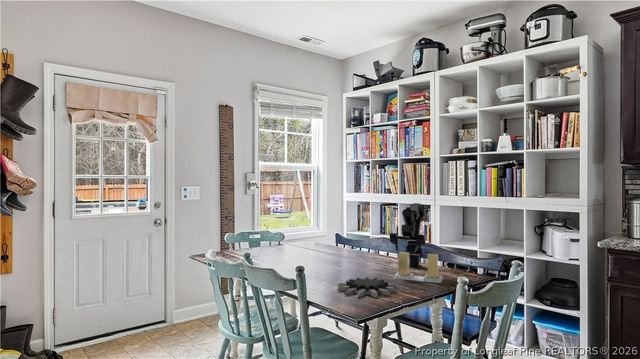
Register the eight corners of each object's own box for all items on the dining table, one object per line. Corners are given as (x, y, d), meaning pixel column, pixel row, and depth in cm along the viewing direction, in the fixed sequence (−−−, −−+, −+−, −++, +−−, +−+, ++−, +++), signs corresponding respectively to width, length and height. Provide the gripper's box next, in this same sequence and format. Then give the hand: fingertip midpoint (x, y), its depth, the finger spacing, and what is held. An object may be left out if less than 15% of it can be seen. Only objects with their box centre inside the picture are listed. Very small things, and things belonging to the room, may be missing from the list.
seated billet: (429, 278, 199) (428, 253, 199) (438, 279, 197) (437, 254, 197) (427, 280, 195) (427, 255, 195) (437, 281, 193) (436, 255, 193)
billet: (400, 275, 204) (400, 251, 205) (409, 276, 203) (408, 252, 203) (398, 277, 200) (398, 253, 200) (407, 278, 198) (407, 253, 199)
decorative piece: (366, 271, 202) (413, 282, 179) (366, 279, 202) (413, 291, 179) (321, 281, 183) (368, 295, 160) (321, 289, 183) (368, 304, 160)
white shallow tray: (397, 276, 207) (397, 271, 207) (442, 280, 198) (442, 275, 198) (393, 280, 199) (393, 275, 199) (440, 284, 190) (440, 279, 190)
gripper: (389, 218, 215) (385, 241, 204) (424, 219, 207) (421, 243, 197) (393, 230, 222) (388, 253, 212) (427, 232, 214) (424, 256, 204)
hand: (405, 251), depth 206 cm, fingers open, 9 cm apart
